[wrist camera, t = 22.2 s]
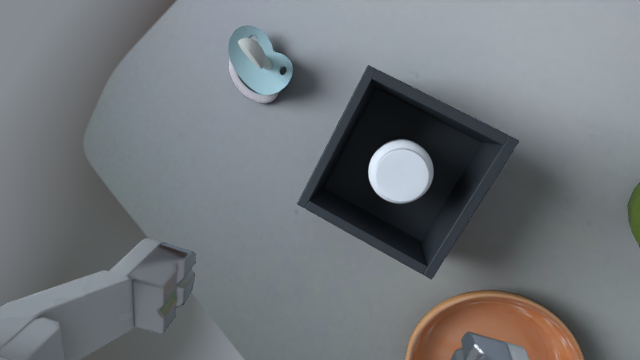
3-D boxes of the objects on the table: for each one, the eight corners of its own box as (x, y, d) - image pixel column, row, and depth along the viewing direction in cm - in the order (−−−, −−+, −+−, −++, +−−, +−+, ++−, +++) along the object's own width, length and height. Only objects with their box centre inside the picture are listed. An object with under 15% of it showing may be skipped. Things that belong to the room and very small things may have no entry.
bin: (315, 189, 39) (296, 204, 31) (373, 78, 36) (367, 64, 28) (423, 249, 37) (431, 279, 30) (491, 138, 35) (519, 140, 27)
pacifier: (266, 116, 39) (305, 74, 37) (241, 115, 33) (286, 64, 31) (219, 66, 39) (256, 22, 37) (185, 56, 33) (228, 3, 31)
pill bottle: (385, 200, 37) (383, 222, 28) (362, 153, 36) (353, 160, 28) (436, 177, 35) (450, 193, 27) (412, 129, 35) (418, 128, 27)
